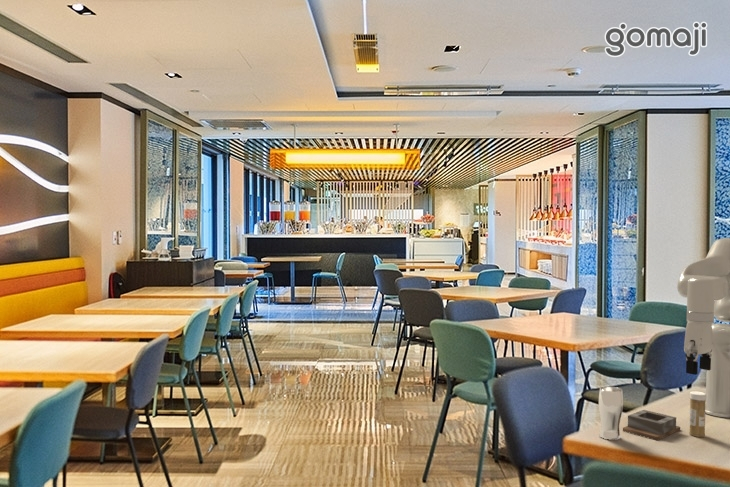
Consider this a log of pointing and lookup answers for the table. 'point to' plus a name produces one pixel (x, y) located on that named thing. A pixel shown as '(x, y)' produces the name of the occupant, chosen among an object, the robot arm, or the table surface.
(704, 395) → the sprinkles bottle
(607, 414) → the beer glass
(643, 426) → the socket holder
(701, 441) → the table surface
